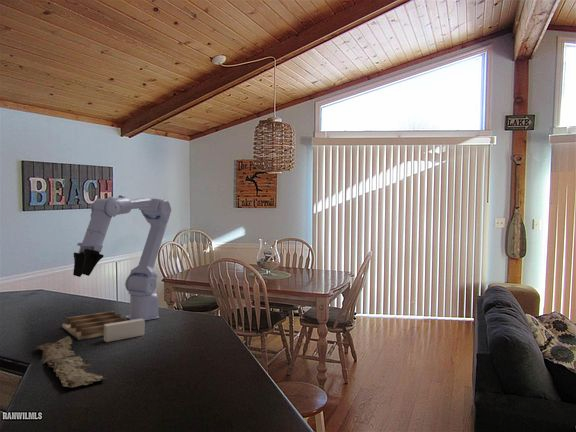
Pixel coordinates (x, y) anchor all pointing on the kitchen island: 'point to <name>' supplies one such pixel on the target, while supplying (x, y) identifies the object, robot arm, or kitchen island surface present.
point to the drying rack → (91, 324)
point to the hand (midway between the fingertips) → (81, 275)
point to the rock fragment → (67, 364)
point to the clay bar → (124, 329)
